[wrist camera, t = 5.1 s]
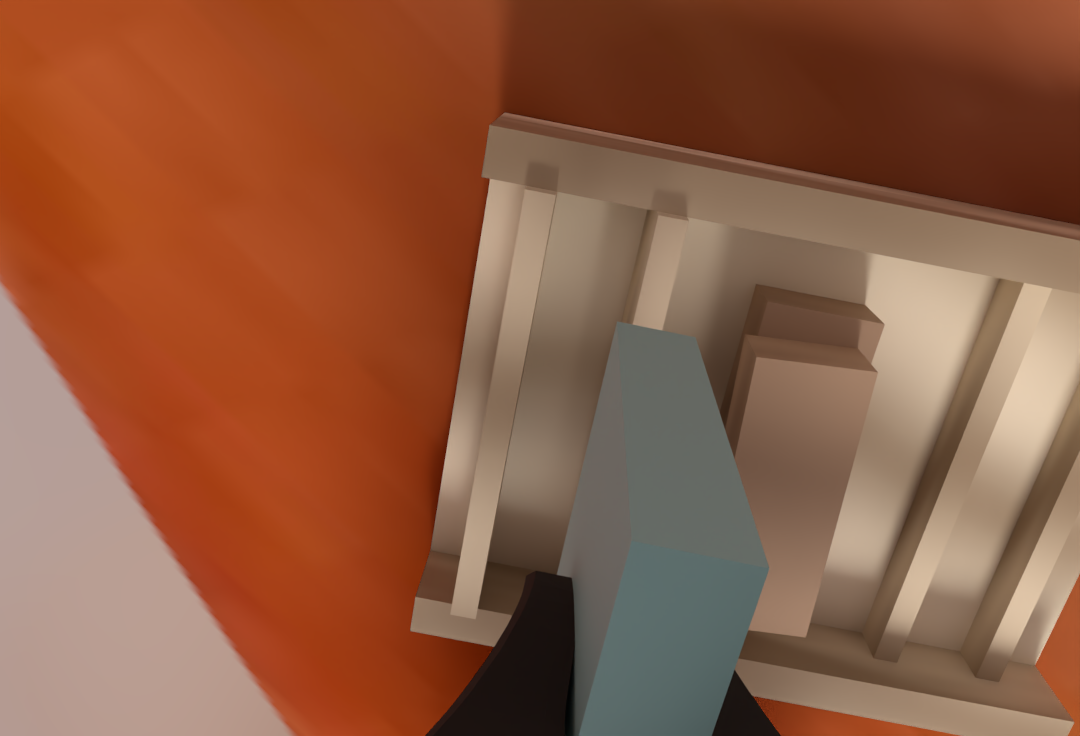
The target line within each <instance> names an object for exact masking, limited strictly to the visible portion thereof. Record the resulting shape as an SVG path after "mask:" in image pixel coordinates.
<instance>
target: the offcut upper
mask: <svg viewBox="0 0 1080 736" xmlns="http://www.w3.org/2000/svg"><path fill="white" fill-rule="evenodd" d="M877 375H878V372H877V370H876V369H875V368H874V367H873V366H872V364H871V363H870V362H869V361H868V360H867V359H866V357H865V356H864V355H863V354H862V353H861V351H860V350H859V349H858V348H850V347H842V346H834V345H826V344H818V343H810V342H802V341H794V340H786V339H778V338H770V337H762V336H754V335H746V334H745V337H744V342H743V347H742V351H741V356H740V361H739V366H738V371H737V375H736V380H735V385H734V390H733V395H732V399H731V404H730V409H729V414H728V418H727V423H726V428H725V431H726V434H727V437H728V440H729V444H730V447H731V450H732V453H733V456H734V459H735V462H736V465H737V469H738V472H739V475H740V478H741V481H742V484H743V487H744V490H745V494H746V497H747V500H748V503H749V506H750V509H751V512H752V515H753V519H754V522H755V525H756V528H757V531H758V534H759V537H760V540H761V544H762V547H763V550H764V553H765V556H766V559H767V562H768V565H769V571H768V574H767V577H766V580H765V583H764V586H763V589H762V591H761V594H760V597H759V600H758V603H757V606H756V609H755V612H754V615H753V618H752V620H751V623H750V626H749V629H748V630H752V631H760V632H767V633H775V634H783V635H790V636H798V637H806V635H807V632H808V628H809V624H810V621H811V617H812V613H813V610H814V606H815V602H816V599H817V595H818V591H819V588H820V584H821V580H822V577H823V573H824V569H825V566H826V562H827V558H828V555H829V551H830V547H831V544H832V540H833V536H834V533H835V529H836V525H837V522H838V518H839V514H840V511H841V507H842V503H843V500H844V496H845V492H846V489H847V485H848V481H849V478H850V474H851V470H852V467H853V463H854V459H855V456H856V452H857V448H858V445H859V441H860V437H861V433H862V430H863V426H864V422H865V419H866V415H867V411H868V408H869V404H870V400H871V397H872V393H873V389H874V386H875V382H876V378H877Z"/></svg>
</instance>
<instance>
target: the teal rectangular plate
mask: <svg viewBox="0 0 1080 736" xmlns="http://www.w3.org/2000/svg"><path fill="white" fill-rule="evenodd" d="M768 571H769V565H768V562H767V559H766V556H765V553H764V550H763V547H762V544H761V540H760V537H759V534H758V531H757V528H756V525H755V522H754V519H753V515H752V512H751V509H750V506H749V503H748V500H747V497H746V494H745V490H744V487H743V484H742V481H741V478H740V475H739V472H738V469H737V465H736V462H735V459H734V456H733V453H732V450H731V447H730V444H729V440H728V437H727V434H726V431H725V428H724V425H723V422H722V419H721V415H720V412H719V409H718V406H717V403H716V400H715V397H714V394H713V390H712V387H711V384H710V381H709V378H708V375H707V372H706V369H705V365H704V362H703V359H702V356H701V353H700V350H699V347H698V343H697V340H696V337H691V336H687V335H682V334H677V333H672V332H667V331H662V330H657V329H652V328H647V327H642V326H637V325H632V324H627V323H623V322H618V321H617V324H616V328H615V332H614V336H613V340H612V345H611V349H610V353H609V357H608V361H607V366H606V370H605V374H604V378H603V382H602V387H601V391H600V395H599V399H598V403H597V408H596V412H595V416H594V420H593V424H592V429H591V433H590V437H589V441H588V445H587V450H586V454H585V458H584V462H583V467H582V471H581V475H580V479H579V483H578V488H577V492H576V496H575V500H574V504H573V509H572V513H571V517H570V521H569V525H568V530H567V534H566V538H565V542H564V546H563V551H562V555H561V559H560V563H559V567H558V572H557V575H560V576H566V577H571V578H572V583H573V593H574V617H575V648H574V655H573V661H572V668H571V674H570V681H569V688H568V694H567V701H566V713H565V736H712V733H713V730H714V727H715V725H716V722H717V719H718V716H719V713H720V710H721V707H722V704H723V701H724V698H725V696H726V693H727V690H728V687H729V684H730V681H731V678H732V675H733V672H734V670H735V667H736V664H737V661H738V658H739V655H740V652H741V649H742V646H743V644H744V641H745V638H746V635H747V632H748V629H749V626H750V623H751V620H752V618H753V615H754V612H755V609H756V606H757V603H758V600H759V597H760V594H761V591H762V589H763V586H764V583H765V580H766V577H767V574H768Z"/></svg>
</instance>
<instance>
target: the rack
mask: <svg viewBox="0 0 1080 736" xmlns="http://www.w3.org/2000/svg"><path fill="white" fill-rule="evenodd" d="M481 177H484V178H489V179H490V183H489V189H488V195H487V201H486V208H485V214H484V220H483V226H482V233H481V239H480V245H479V251H478V257H477V264H476V270H475V276H474V282H473V289H472V295H471V301H470V307H469V313H468V320H467V326H466V332H465V338H464V345H463V351H462V357H461V363H460V369H459V376H458V382H457V388H456V394H455V401H454V407H453V413H452V419H451V425H450V432H449V438H448V444H447V450H446V457H445V463H444V469H443V475H442V481H441V488H440V494H439V500H438V506H437V512H436V519H435V525H434V531H433V537H432V544H431V550H430V553H429V556H428V559H427V563H426V566H425V569H424V572H423V575H422V578H421V581H420V584H419V588H418V591H417V594H416V597H415V603H414V610H413V616H412V622H411V629H410V631H413V632H418V633H423V634H429V635H434V636H439V637H444V638H450V639H455V640H460V641H466V642H471V643H476V644H481V645H487V646H492V647H494V646H495V645H496V643H497V641H498V640H499V638H500V636H501V635H502V633H503V632H504V630H505V628H506V627H507V625H508V623H509V621H510V619H511V617H512V615H513V613H514V611H515V609H516V607H517V605H518V603H519V600H520V598H521V595H522V592H523V587H524V583H525V578H526V576H527V575H528V574H530V573H532V572H534V571H540V572H545V573H550V574H555V575H557V572H558V567H559V563H560V559H561V555H562V551H563V546H564V542H565V538H566V534H567V530H568V525H569V521H570V517H571V513H572V509H573V504H574V500H575V496H576V492H577V488H578V483H579V479H580V475H581V471H582V467H583V462H584V458H585V454H586V450H587V445H588V441H589V437H590V433H591V429H592V424H593V420H594V416H595V412H596V408H597V403H598V399H599V395H600V391H601V387H602V382H603V378H604V374H605V370H606V366H607V361H608V357H609V353H610V349H611V345H612V340H613V336H614V332H615V328H616V324H617V321H618V322H623V323H627V324H632V325H637V326H642V327H647V328H652V329H657V330H662V331H667V332H672V333H677V334H682V335H687V336H691V337H696V340H697V343H698V347H699V350H700V353H701V356H702V359H703V362H704V365H705V369H706V372H707V375H708V378H709V381H710V384H711V387H712V390H713V394H714V397H715V400H716V403H717V406H718V409H719V412H720V409H721V406H722V402H723V399H724V395H725V392H726V388H727V385H728V381H729V378H730V374H731V371H732V367H733V364H734V360H735V357H736V353H737V350H738V346H739V343H740V339H741V336H742V332H743V328H744V325H745V321H746V318H747V314H748V311H749V307H750V304H751V300H752V297H753V293H754V290H755V286H756V284H760V285H765V286H770V287H775V288H780V289H785V290H790V291H796V292H801V293H806V294H811V295H816V296H821V297H826V298H831V299H837V300H842V301H847V302H852V303H857V304H862V305H866V306H867V307H868V308H869V309H870V310H871V311H872V312H873V313H874V314H875V315H876V316H877V317H878V318H879V319H880V320H881V321H882V322H883V323H884V324H885V326H884V328H883V331H882V334H881V337H880V340H879V343H878V346H877V349H876V352H875V354H874V357H873V360H872V363H871V364H872V366H873V367H874V368H875V369H876V370H877V372H878V375H877V378H876V382H875V386H874V389H873V393H872V397H871V400H870V404H869V408H868V411H867V415H866V419H865V422H864V426H863V430H862V433H861V437H860V441H859V445H858V448H857V452H856V456H855V459H854V463H853V467H852V470H851V474H850V478H849V481H848V485H847V489H846V492H845V496H844V500H843V503H842V507H841V511H840V514H839V518H838V522H837V525H836V529H835V533H834V536H833V540H832V544H831V547H830V551H829V555H828V558H827V562H826V566H825V569H824V573H823V577H822V580H821V584H820V588H819V591H818V595H817V599H816V602H815V606H814V610H813V613H812V617H811V621H810V624H809V628H808V632H807V635H806V637H798V636H790V635H783V634H775V633H767V632H760V631H752V630H748V632H747V635H746V638H745V641H744V644H743V646H742V649H741V652H740V655H739V658H738V661H737V664H736V667H735V671H736V672H737V674H738V675H739V677H740V678H741V680H742V681H743V683H744V684H745V686H746V687H747V689H748V690H749V692H750V693H751V695H752V696H756V697H761V698H766V699H771V700H777V701H782V702H787V703H793V704H798V705H803V706H808V707H814V708H819V709H824V710H829V711H835V712H840V713H845V714H851V715H856V716H861V717H866V718H872V719H877V720H882V721H887V722H893V723H898V724H903V725H909V726H914V727H919V728H924V729H930V730H935V731H940V732H945V733H951V734H956V735H961V736H1068V734H1069V732H1070V730H1071V728H1072V726H1073V724H1074V721H1073V719H1072V718H1071V717H1070V715H1069V714H1068V712H1067V711H1066V709H1065V708H1064V707H1063V705H1062V704H1061V702H1060V701H1059V699H1058V698H1057V697H1056V695H1055V694H1054V692H1053V691H1052V689H1051V688H1050V687H1049V685H1048V684H1047V682H1046V681H1045V679H1044V678H1043V677H1042V675H1041V674H1040V672H1039V671H1038V669H1037V668H1036V667H1035V664H1036V662H1037V660H1038V658H1039V656H1040V654H1041V652H1042V650H1043V648H1044V646H1045V644H1046V642H1047V640H1048V638H1049V635H1050V633H1051V631H1052V629H1053V627H1054V625H1055V623H1056V621H1057V619H1058V617H1059V615H1060V613H1061V611H1062V609H1063V607H1064V605H1065V603H1066V601H1067V599H1068V596H1069V594H1070V592H1071V590H1072V588H1073V586H1074V584H1075V582H1076V580H1077V578H1078V576H1079V574H1080V225H1077V224H1071V223H1066V222H1061V221H1056V220H1051V219H1046V218H1041V217H1036V216H1031V215H1026V214H1020V213H1015V212H1010V211H1005V210H1000V209H995V208H990V207H985V206H980V205H975V204H969V203H964V202H959V201H954V200H949V199H944V198H939V197H934V196H929V195H924V194H918V193H913V192H908V191H903V190H898V189H893V188H888V187H883V186H878V185H873V184H867V183H862V182H857V181H852V180H847V179H842V178H837V177H832V176H827V175H822V174H816V173H811V172H806V171H801V170H796V169H791V168H786V167H781V166H776V165H771V164H765V163H760V162H755V161H750V160H745V159H740V158H735V157H730V156H725V155H720V154H714V153H709V152H704V151H699V150H694V149H689V148H684V147H679V146H674V145H669V144H663V143H658V142H653V141H648V140H643V139H638V138H633V137H628V136H623V135H617V134H612V133H607V132H602V131H597V130H592V129H587V128H582V127H577V126H572V125H566V124H561V123H556V122H551V121H546V120H541V119H536V118H531V117H526V116H521V115H515V114H510V113H503V114H502V115H501V116H500V117H499V118H497V119H496V120H495V121H494V122H493V123H491V124H490V125H489V132H488V138H487V145H486V151H485V157H484V164H483V170H482V176H481Z"/></svg>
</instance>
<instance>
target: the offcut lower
mask: <svg viewBox="0 0 1080 736" xmlns="http://www.w3.org/2000/svg"><path fill="white" fill-rule="evenodd" d="M884 326H885V324H884V323H883V322H882V321H881V320H880V319H879V318H878V317H877V316H876V315H875V314H874V313H873V312H872V311H871V310H870V309H869V308H868V307H867V306H866V305H862V304H857V303H852V302H847V301H842V300H837V299H831V298H826V297H821V296H816V295H811V294H806V293H801V292H796V291H790V290H785V289H780V288H775V287H770V286H765V285H760V284H756V286H755V290H754V293H753V297H752V300H751V304H750V307H749V311H748V314H747V318H746V321H745V325H744V328H743V332H742V336H741V339H740V343H739V346H738V350H737V353H736V357H735V360H734V364H733V367H732V371H731V374H730V378H729V381H728V385H727V388H726V392H725V395H724V399H723V402H722V406H721V409H720V415H721V419H722V422H723V425H724V428H726V423H727V418H728V414H729V409H730V404H731V399H732V395H733V390H734V385H735V380H736V375H737V371H738V366H739V361H740V356H741V351H742V347H743V342H744V337H745V334H746V335H754V336H762V337H770V338H778V339H786V340H794V341H802V342H810V343H818V344H826V345H834V346H842V347H850V348H858V349H859V350H860V351H861V353H862V354H863V355H864V356H865V357H866V359H867V360H868V361H869V362H870V363H872V360H873V357H874V354H875V352H876V349H877V346H878V343H879V340H880V337H881V334H882V331H883V328H884Z"/></svg>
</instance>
